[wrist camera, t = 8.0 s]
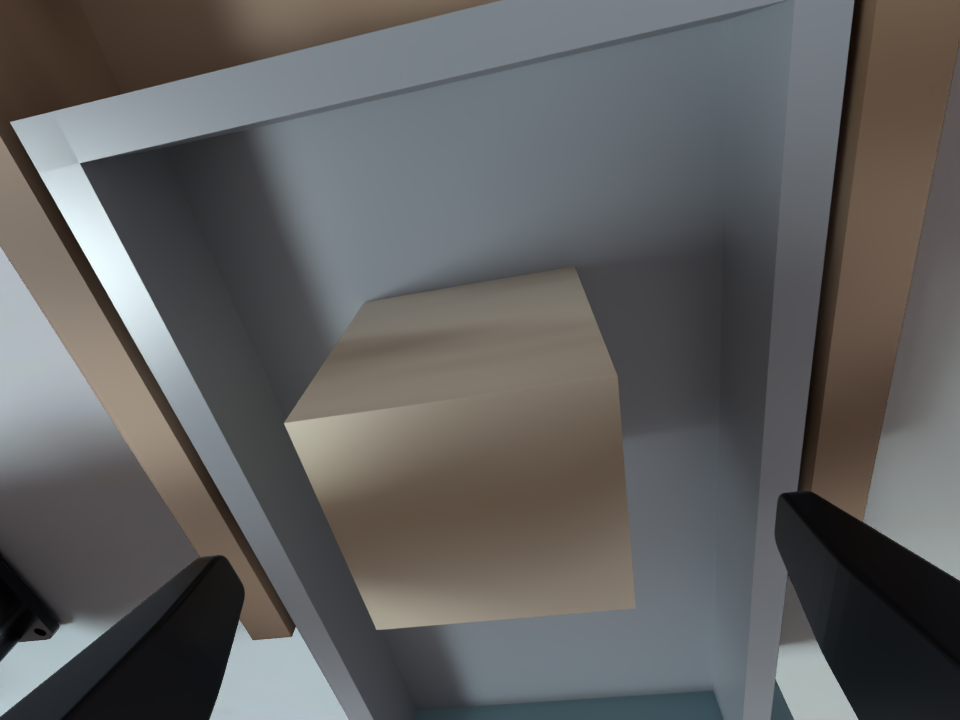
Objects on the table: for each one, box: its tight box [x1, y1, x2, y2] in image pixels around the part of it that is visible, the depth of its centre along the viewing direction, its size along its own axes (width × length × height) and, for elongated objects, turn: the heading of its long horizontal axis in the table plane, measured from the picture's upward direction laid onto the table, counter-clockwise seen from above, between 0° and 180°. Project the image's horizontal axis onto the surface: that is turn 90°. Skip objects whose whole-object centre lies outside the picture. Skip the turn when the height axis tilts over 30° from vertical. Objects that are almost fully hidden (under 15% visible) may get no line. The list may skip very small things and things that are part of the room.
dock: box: [0, 0, 960, 640], centre depth 10 cm, size 23×16×4 cm
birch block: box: [284, 266, 636, 630], centre depth 11 cm, size 5×5×5 cm
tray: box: [10, 0, 854, 720], centre depth 14 cm, size 23×16×5 cm
